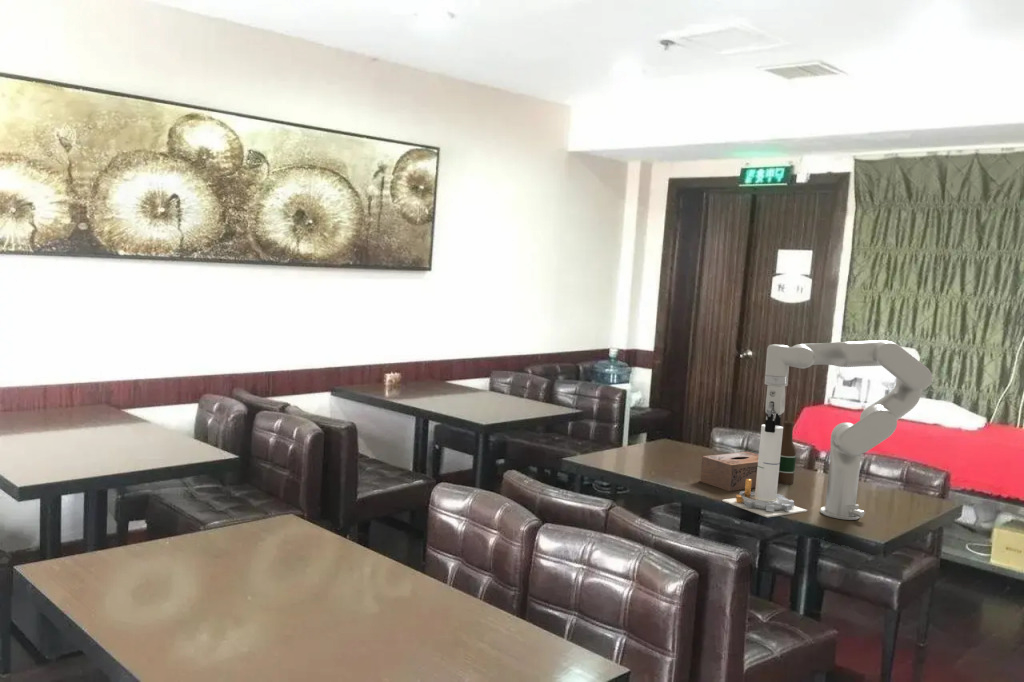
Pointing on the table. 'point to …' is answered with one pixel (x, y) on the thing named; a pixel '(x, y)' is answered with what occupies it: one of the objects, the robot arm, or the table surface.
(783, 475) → the beer bottle
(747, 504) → the sprocket
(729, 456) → the tissue box cover
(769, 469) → the cylindrical container
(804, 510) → the sprocket base
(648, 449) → the table surface
